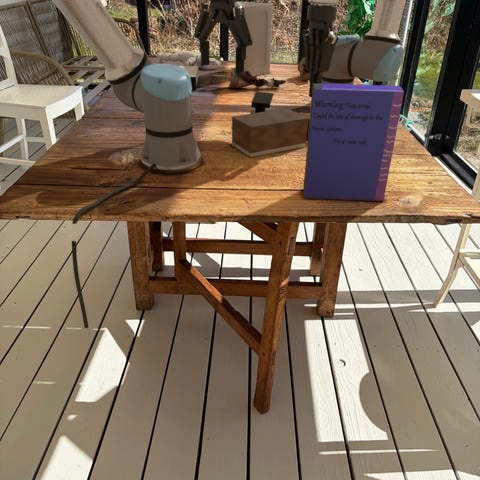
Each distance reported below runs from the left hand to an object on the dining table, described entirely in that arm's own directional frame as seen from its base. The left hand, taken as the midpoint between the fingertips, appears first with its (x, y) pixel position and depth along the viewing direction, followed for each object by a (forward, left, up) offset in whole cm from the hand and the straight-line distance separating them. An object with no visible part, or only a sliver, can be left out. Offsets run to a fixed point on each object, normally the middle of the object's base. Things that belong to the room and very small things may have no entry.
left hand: (222, 68), depth 136 cm
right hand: (0, -27, -6) cm, 27 cm away
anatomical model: (+79, -20, -18) cm, 84 cm away
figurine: (+55, +2, -18) cm, 58 cm away
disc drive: (+55, +32, -18) cm, 67 cm away
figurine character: (+14, -10, -18) cm, 25 cm away
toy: (+88, +36, -18) cm, 97 cm away
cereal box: (-38, -37, -18) cm, 56 cm away
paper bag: (+85, +5, -18) cm, 87 cm away
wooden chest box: (-9, -16, -18) cm, 26 cm away
